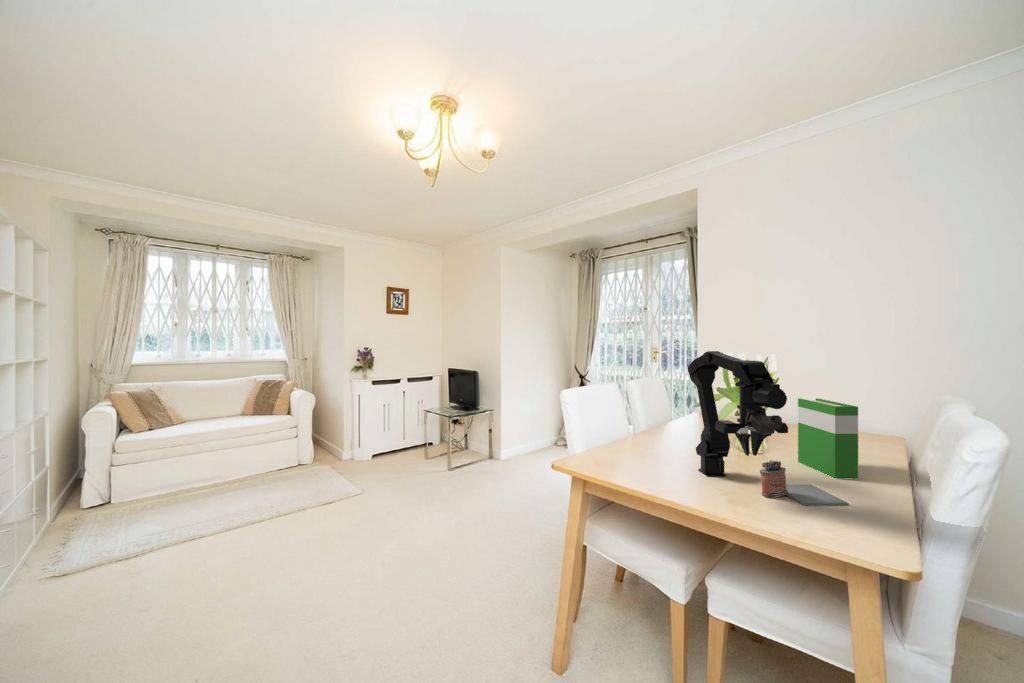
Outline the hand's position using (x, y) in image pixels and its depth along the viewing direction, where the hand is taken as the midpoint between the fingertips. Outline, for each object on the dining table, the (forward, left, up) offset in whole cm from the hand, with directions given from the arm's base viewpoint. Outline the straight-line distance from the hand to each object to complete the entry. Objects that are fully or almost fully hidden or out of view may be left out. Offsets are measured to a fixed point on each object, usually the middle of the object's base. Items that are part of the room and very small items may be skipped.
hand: (750, 455), depth 116 cm
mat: (+17, 0, -12) cm, 21 cm away
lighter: (+7, 0, -12) cm, 14 cm away
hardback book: (+40, +22, -12) cm, 47 cm away
